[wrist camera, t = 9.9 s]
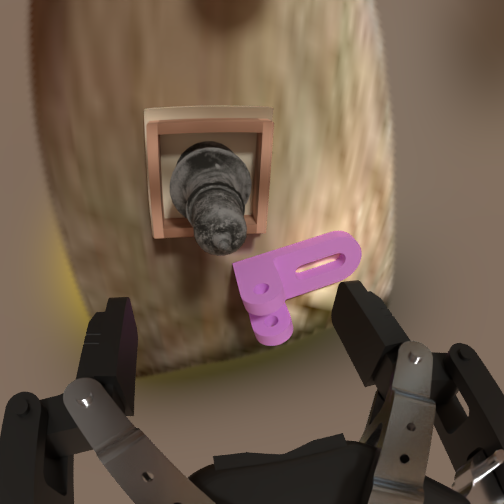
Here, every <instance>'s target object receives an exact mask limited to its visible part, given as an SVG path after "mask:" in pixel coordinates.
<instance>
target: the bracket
mask: <svg viewBox="0 0 504 504" xmlns="http://www.w3.org/2000/svg"><path fill="white" fill-rule="evenodd" d="M337 253H341V255H340V257H339V258H338V259H337V260H335V261H333V262H330V263H327V264H324V265H321V266H318V267H315V268H312V269H309V270H306V271H303V272H300V273H297V272H295V271H296V269H297V268H298V267H299V266H301V265H304V264H307V263H310V262H313V261H316V260H319V259H322V258H325V257H328V256H331V255H334V254H337ZM360 260H361V248H360V245H359V244H358V243H357V241H356V240H355V239H354V238H353V237H352V236H351V235H350V234H349V233H347V232H344V231H333V232H329V233H326V234H323V235H320V236H317V237H313V238H310V239H307V240H304V241H301V242H298V243H295V244H292V245H288V246H285V247H282V248H279V249H276V250H273V251H270V252H267V253H263V254H260V255H257V256H254V257H251V258H248V259H245V260H241V261H238V262H235V263H232V264H233V268H234V272H235V276H236V280H237V284H238V288H239V292H240V296H241V298H242V301H243V304H244V306H245V309H246V310H247V311H248V313H249V317H250V321H251V325H252V328H253V331H254V333H255V336H256V339H257V340H258V341H259V342H260V343H262V344H264V345H268V346H274V345H279V344H281V343H283V342H285V341H286V340H288V339H289V337H290V336H291V335H292V332H293V325H292V321H291V317H290V314H289V311H288V309H287V306H286V304H285V300H286V299H289V298H292V297H295V296H298V295H301V294H304V293H307V292H310V291H313V290H316V289H318V288H321V287H324V286H327V285H330V284H333V283H336V282H339V281H341V280H343V279H345V278H347V277H348V276H350V275H351V274H352V273H353V272H354V271H355V270H356V268H357V267H358V265H359V263H360ZM273 325H275V326H273ZM271 326H272V327H271Z"/></svg>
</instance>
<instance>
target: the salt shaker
mask: <svg viewBox="0 0 504 504" xmlns="http://www.w3.org/2000/svg"><path fill="white" fill-rule="evenodd" d="M251 186H252V182H251V176H250V172H249V170H248V168H247V166H246V164H245V163H244V162H243V161H242V160H241V159H240V158H239V157H238V156H237V155H235V154H234V153H233V152H232V151H231V150H230V149H229V148H228V147H226V146H225V145H223V144H221V143H217V142H214V141H204V142H200V143H196V144H194V145H192V146H190V147H189V148H187V149H186V150H185V151H184V152H183V153H182V154H181V156H180V158H179V159H178V161H177V164H176V167H175V169H174V171H173V172H172V176H171V179H170V196H171V199H172V203H173V204H174V206H175V207H176V209H177V210H178V212H179V213H181V214H182V215H183V216H184V217H185V218H187V219H188V221H189V222H190V224H191V225H192V227H193V230H194V236H195V240H196V242H197V243H198V245H199V246H200V247H201V248H202V249H203V250H204V251H205V252H207V253H209V254H212V255H217V256H219V255H228V254H231V253H233V252H235V251H236V250H238V249H239V248H240V247H241V246H242V244H243V243H244V241H245V239H246V234H247V226H246V222H245V219H244V214H245V205H246V203H247V202H248V199H249V197H250V194H251Z"/></svg>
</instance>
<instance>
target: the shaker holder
mask: <svg viewBox="0 0 504 504" xmlns="http://www.w3.org/2000/svg"><path fill="white" fill-rule="evenodd" d="M272 121H273V108H272V107H263V106H182V107H162V108H148V109H145V110H144V125H145V149H146V167H147V182H148V195H149V206H150V217H151V227H152V236H153V237H154V239H157V238H174V237H193V236H194V230H193V227H192V225H191V224H190V222H189V221H188V219H187V218H185V217H184V216H183V215H182V214H181V213H179V212H178V210H177V209H176V207H175V206H174V204H173V203H172V199H171V196H170V179H171V176H172V172H173V171H174V169H175V167H176V164H177V161H178V159H179V158H180V156H181V154H182V153H183V152H184V151H185V150H186V149H187V148H189V147H190V146H192V145H194V144H196V143H200V142H204V141H214V142H217V143H221V144H223V145H225V146H226V147H228V148H229V149H230V150H231V151H232V152H233V153H234V154H235V155H237V156H238V157H239V158H240V159H241V160H242V161H243V162H244V163H245V164H246V166H247V168H248V170H249V172H250V176H251V182H252V186H251V194H250V197H249V199H248V202H247V203H246V205H245V214H244V219H245V222H246V226H247V234H254V233H266V225H267V212H268V199H269V185H270V172H271V158H272V144H273V130H274V122H272Z"/></svg>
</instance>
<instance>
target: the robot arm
mask: <svg viewBox="0 0 504 504" xmlns="http://www.w3.org/2000/svg"><path fill="white" fill-rule="evenodd" d="M331 316H332V323H333V326H334V328H335V330H336V332H337V334H338V335H339V337H340V339H341V341H342V343H343V345H344V347H345V349H346V351H347V353H348V355H349V357H350V359H351V361H352V362H353V364H354V366H355V368H356V370H357V372H358V374H359V376H360V378H361V380H362V382H363V384H364V386H365V387H367V386H371V385H376V387H377V388H378V389H377V391H376V392H375V396H374V400H373V403H372V407H371V410H370V414H369V417H368V421H367V424H366V427H365V430H364V432H363V435H362V437H361V439H360V441H359V442H356V441H346V440H345V438H344V435H343V433H341V434H338V435H334V436H330V437H326V438H322V439H317V440H313V441H311V442H309V443H307V444H305V445H303V446H301V447H299V448H297V449H295V450H292V451H290V452H288V453H285V454H280V455H279V454H262V453H248V452H246V453H238V454H230V455H220V456H213V458H214V464H211V465H208V466H206V467H204V468H202V469H200V470H198V471H196V472H195V473H193V474H192V475H190V476H189V477H188V478H187V477H186V476H185V475H183V473H182V472H181V471H180V470H178V468H176V467H175V466H174V465H173V464H172V463H171V462H170V461H169V460H168V458H166V456H164V454H163V453H162V452H161V451H160V450H159V449H158V448H157V447H156V446H155V445H154V444H153V443H152V442H151V440H149V438H148V437H147V436H146V435H145V434H144V433H143V432H142V431H141V430H140V429H139V428H136V427H135V426H134V425H133V424H132V423H131V422H130V421H129V420H128V418H127V417H126V416H134V395H135V394H134V393H135V376H136V360H137V347H138V334H137V327H136V323H135V319H134V315H133V311H132V306H131V302H130V299H129V297H118V298H109V299H108V302H107V307H106V311H105V312H96V314H95V315H94V316H93V318H92V319H91V320H90V321H89V324H88V328H87V332H86V336H85V341H84V345H83V349H82V353H81V358H80V362H79V367H78V372H77V377H76V380H74V381H73V382H71V383H70V384H69V385H68V386H67V387H66V389H65V391H64V393H63V394H61V395H58V396H54V397H50V398H46V399H42V400H39V399H38V398H37V396H36V395H34V394H33V393H30V392H20V393H18V394H16V395H14V396H13V397H12V398H11V399H10V400H9V401H8V403H7V406H6V409H5V414H4V419H3V424H2V430H1V436H0V504H74V489H73V488H74V487H73V461H74V460H73V459H74V458H73V457H74V454H77V453H80V452H85V451H89V450H93V449H94V451H95V452H96V454H97V456H98V458H99V459H100V461H101V462H102V463H103V465H104V466H105V467H106V469H107V470H108V471H109V473H110V474H111V475H112V477H113V478H114V479H115V480H116V482H117V483H118V484H119V485H120V486H121V488H122V489H123V490H124V491H125V492H126V494H127V495H128V496H129V497H130V498H131V499H132V500H133V502H134V503H135V504H504V395H503V393H502V391H501V390H500V388H499V387H498V385H497V383H496V382H495V380H494V379H493V377H492V376H491V374H490V373H489V371H488V369H487V368H486V366H485V365H484V364H483V362H482V361H481V359H480V358H479V356H478V355H477V353H476V352H475V351H474V350H473V349H472V348H471V347H470V346H468V345H466V344H462V343H457V344H454V345H452V347H451V348H450V350H449V351H448V353H432V352H431V351H430V350H429V349H428V348H427V347H426V346H425V345H424V344H422V343H419V342H416V341H410V339H409V338H408V336H407V335H406V333H405V332H404V330H403V329H402V328H401V326H400V325H399V323H398V322H397V321H396V319H395V318H394V317H393V316H392V313H391V312H390V311H389V309H387V307H386V305H385V304H384V302H383V301H382V300H381V298H379V297H378V296H377V295H375V294H374V293H372V292H371V291H369V292H368V291H367V290H366V289H365V287H364V286H363V284H362V283H361V282H360V281H359V280H356V281H346V282H341V283H340V284H339V286H338V289H337V293H336V297H335V301H334V305H333V309H332V315H331ZM458 391H460V393H461V394H462V396H463V398H464V400H465V401H466V403H467V405H468V407H469V416H467V415H466V413H465V411H464V409H463V407H462V406H461V404H460V402H459V400H458V398H457V397H456V394H457V393H458ZM433 425H434V426H435V428H436V430H437V432H438V435H439V436H440V439H441V440H442V443H443V445H444V447H445V449H446V451H447V454H448V456H449V458H450V460H451V463H452V465H453V467H454V469H455V472H456V474H455V477H454V483H453V484H452V489H451V488H449V487H447V486H445V485H443V484H441V483H439V482H437V481H435V480H433V479H431V478H429V477H427V476H425V473H426V468H427V463H428V457H429V451H430V446H431V439H432V432H433Z"/></svg>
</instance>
